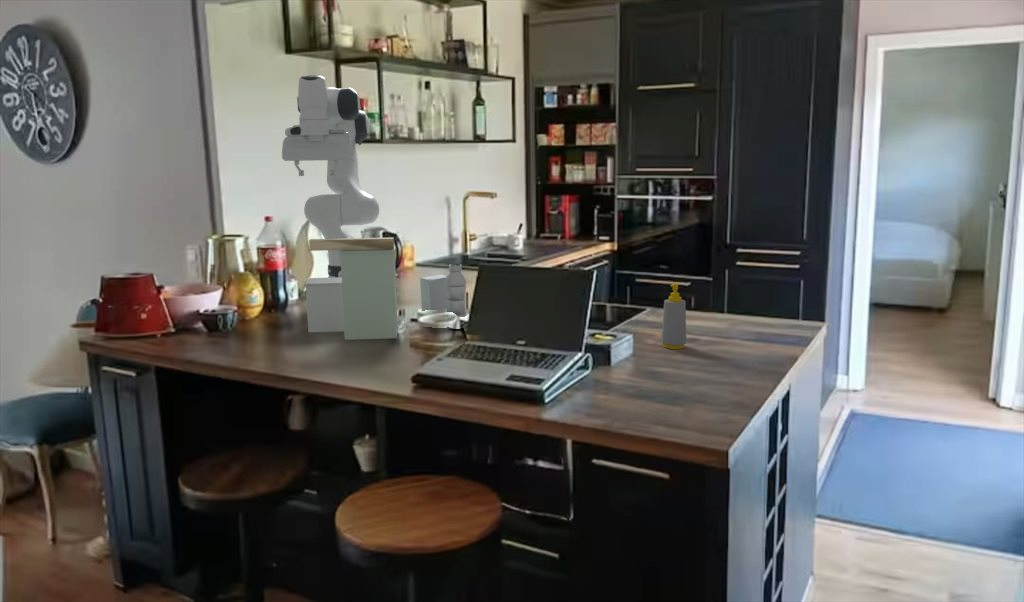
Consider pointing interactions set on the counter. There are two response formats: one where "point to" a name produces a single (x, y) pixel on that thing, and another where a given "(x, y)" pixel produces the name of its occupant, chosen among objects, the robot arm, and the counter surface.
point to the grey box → (324, 305)
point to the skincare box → (433, 293)
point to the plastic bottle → (456, 290)
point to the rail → (351, 244)
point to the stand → (369, 293)
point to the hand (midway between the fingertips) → (317, 175)
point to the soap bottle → (674, 321)
